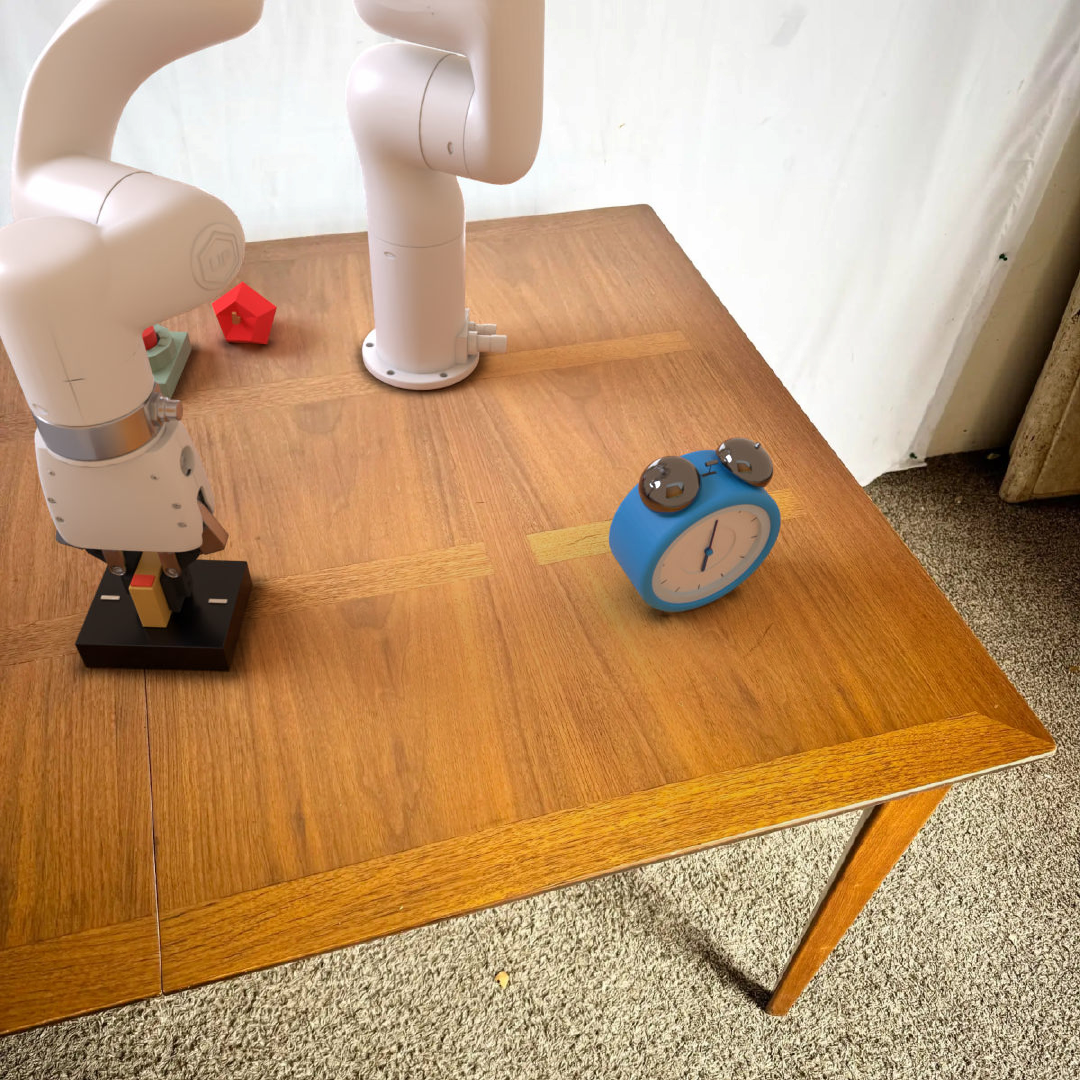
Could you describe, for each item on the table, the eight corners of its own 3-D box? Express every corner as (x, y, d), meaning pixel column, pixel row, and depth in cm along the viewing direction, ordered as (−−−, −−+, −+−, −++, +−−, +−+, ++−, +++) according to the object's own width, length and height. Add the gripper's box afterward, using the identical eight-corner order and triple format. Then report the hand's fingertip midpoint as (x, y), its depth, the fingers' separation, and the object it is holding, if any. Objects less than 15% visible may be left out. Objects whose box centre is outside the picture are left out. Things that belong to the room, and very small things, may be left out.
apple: (225, 268, 105) (202, 281, 97) (287, 284, 106) (269, 299, 98) (217, 329, 108) (194, 346, 100) (278, 344, 108) (260, 363, 101)
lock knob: (162, 573, 77) (148, 532, 74) (185, 574, 77) (172, 533, 74) (142, 627, 73) (127, 586, 70) (166, 627, 73) (152, 587, 70)
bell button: (126, 332, 98) (121, 318, 97) (161, 334, 99) (157, 319, 97) (115, 353, 96) (110, 338, 95) (152, 355, 96) (148, 340, 95)
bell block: (125, 346, 103) (116, 314, 100) (192, 349, 103) (184, 317, 100) (99, 398, 97) (88, 365, 94) (170, 401, 97) (161, 368, 94)
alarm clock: (631, 633, 80) (657, 503, 69) (597, 581, 83) (617, 450, 73) (762, 589, 84) (807, 460, 73) (725, 541, 88) (761, 412, 77)
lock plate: (253, 584, 81) (246, 559, 79) (229, 671, 75) (222, 647, 72) (120, 580, 80) (110, 554, 78) (85, 667, 74) (73, 642, 72)
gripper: (237, 383, 65) (275, 566, 78) (-3, 371, 64) (76, 558, 77) (210, 456, 60) (256, 639, 73) (-51, 445, 59) (43, 631, 72)
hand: (163, 596), depth 75 cm, fingers closed on lock knob, 2 cm apart
